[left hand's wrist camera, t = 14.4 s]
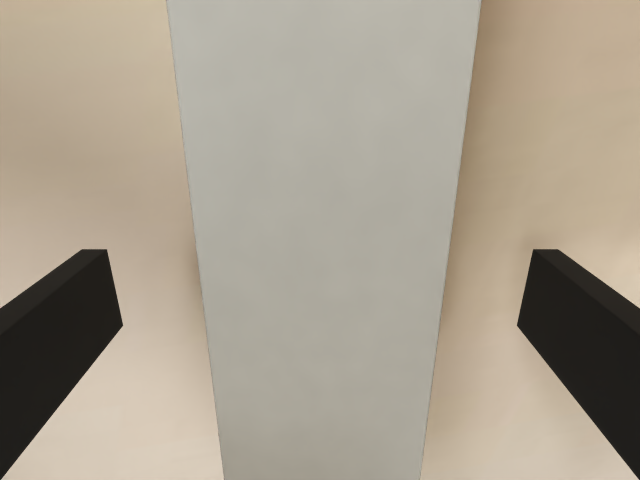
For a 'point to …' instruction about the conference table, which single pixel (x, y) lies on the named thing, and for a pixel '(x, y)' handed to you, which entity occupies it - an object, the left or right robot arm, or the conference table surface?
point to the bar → (323, 221)
